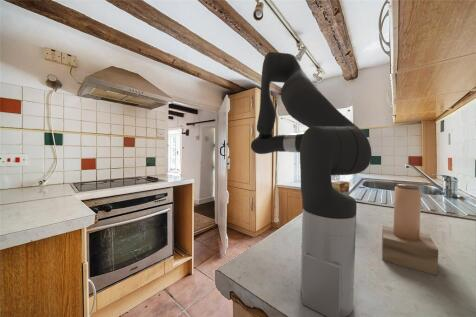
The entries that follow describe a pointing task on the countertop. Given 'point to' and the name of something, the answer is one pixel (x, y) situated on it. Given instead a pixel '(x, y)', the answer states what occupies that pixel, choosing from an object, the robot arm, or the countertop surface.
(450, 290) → the countertop surface
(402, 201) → the canister
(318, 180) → the robot arm
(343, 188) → the candy box
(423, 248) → the pedestal
